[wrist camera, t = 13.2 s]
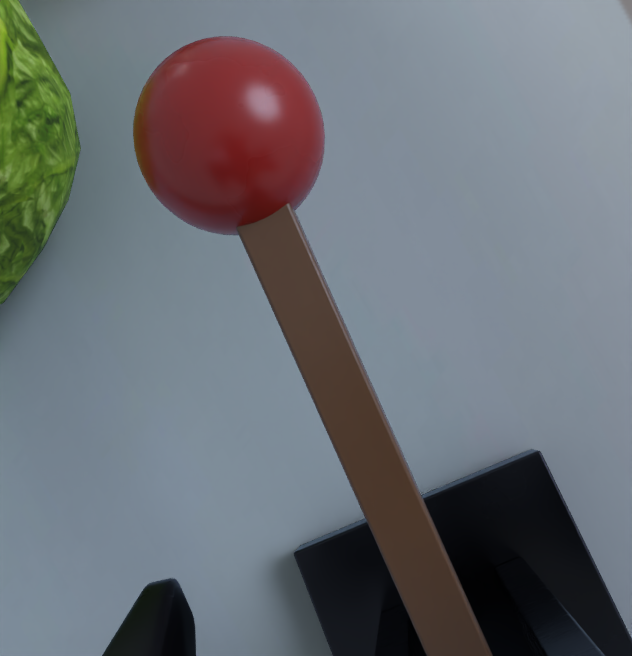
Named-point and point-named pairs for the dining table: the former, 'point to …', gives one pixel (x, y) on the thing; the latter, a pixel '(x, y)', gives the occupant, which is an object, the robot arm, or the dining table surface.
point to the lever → (295, 284)
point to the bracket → (476, 572)
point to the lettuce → (30, 145)
